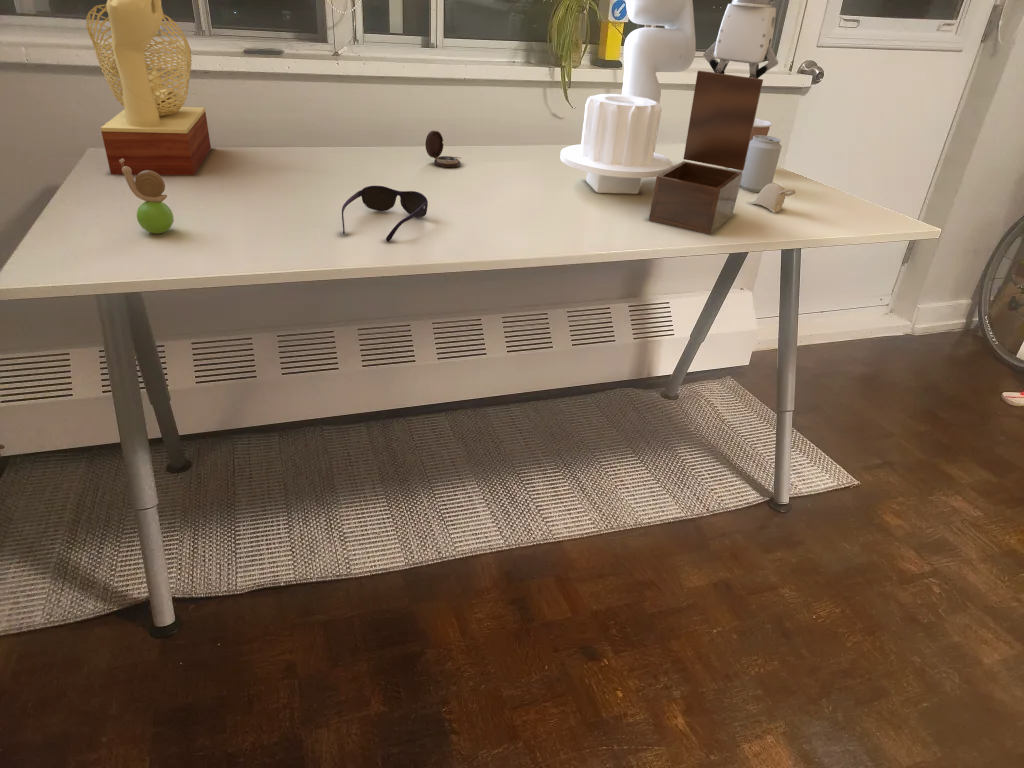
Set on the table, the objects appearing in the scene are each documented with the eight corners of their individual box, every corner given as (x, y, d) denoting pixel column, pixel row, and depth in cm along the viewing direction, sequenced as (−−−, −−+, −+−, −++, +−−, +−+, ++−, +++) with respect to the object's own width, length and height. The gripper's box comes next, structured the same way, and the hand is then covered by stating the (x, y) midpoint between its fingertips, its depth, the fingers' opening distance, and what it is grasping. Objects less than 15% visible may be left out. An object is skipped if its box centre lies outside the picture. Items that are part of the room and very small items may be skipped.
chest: (710, 234, 138) (720, 189, 133) (648, 220, 143) (656, 176, 138) (732, 214, 151) (742, 172, 146) (675, 201, 156) (683, 160, 151)
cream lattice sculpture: (194, 177, 147) (163, -16, 128) (100, 176, 143) (53, -23, 125) (213, 148, 167) (187, -22, 149) (130, 146, 164) (94, -28, 145)
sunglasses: (432, 217, 135) (433, 191, 132) (403, 244, 122) (403, 216, 119) (366, 208, 137) (365, 182, 135) (330, 233, 124) (328, 205, 121)
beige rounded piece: (764, 202, 160) (770, 178, 158) (792, 213, 154) (798, 189, 151) (751, 203, 159) (757, 179, 156) (778, 215, 152) (784, 190, 150)
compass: (450, 169, 166) (451, 137, 162) (423, 163, 169) (423, 131, 165) (470, 163, 172) (471, 132, 168) (443, 157, 175) (444, 126, 171)
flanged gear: (682, 204, 154) (700, 113, 144) (571, 202, 150) (582, 108, 140) (645, 173, 175) (659, 92, 165) (547, 171, 171) (555, 87, 161)
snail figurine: (141, 226, 121) (126, 154, 114) (180, 227, 121) (167, 156, 115) (129, 237, 116) (112, 163, 110) (169, 238, 117) (156, 165, 110)
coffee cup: (745, 163, 192) (756, 117, 186) (768, 173, 184) (780, 125, 178) (713, 163, 189) (723, 116, 183) (734, 174, 181) (746, 125, 175)
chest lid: (762, 80, 135) (769, 74, 139) (697, 71, 140) (706, 65, 144) (742, 170, 146) (750, 162, 150) (683, 159, 151) (692, 151, 155)
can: (771, 195, 166) (785, 142, 160) (739, 191, 167) (751, 138, 161) (768, 186, 172) (781, 135, 166) (737, 182, 173) (749, 132, 167)
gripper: (802, 1, 135) (777, 102, 144) (715, -7, 142) (697, 90, 151) (794, 1, 129) (769, 106, 138) (703, -7, 136) (685, 94, 145)
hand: (731, 97), depth 144 cm, fingers closed on chest lid, 5 cm apart
